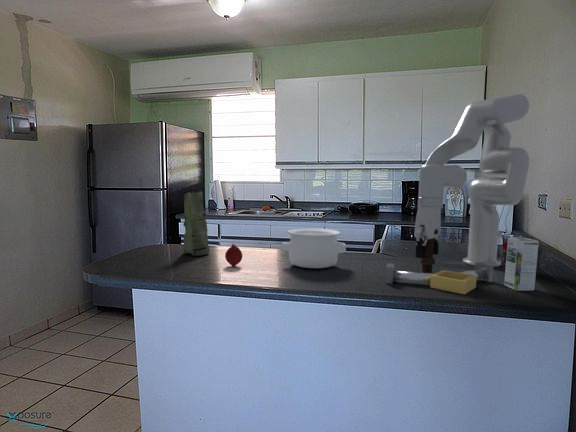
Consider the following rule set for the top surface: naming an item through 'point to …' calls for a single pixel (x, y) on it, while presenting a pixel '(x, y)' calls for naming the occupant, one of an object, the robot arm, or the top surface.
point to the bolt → (428, 256)
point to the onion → (233, 255)
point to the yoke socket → (453, 281)
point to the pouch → (195, 225)
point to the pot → (313, 247)
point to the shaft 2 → (482, 272)
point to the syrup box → (521, 263)
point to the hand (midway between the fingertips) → (426, 255)
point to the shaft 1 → (406, 276)
